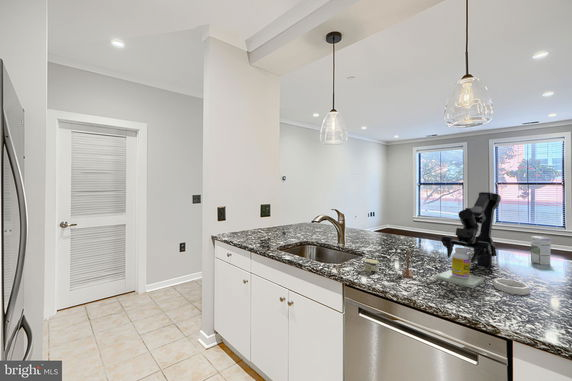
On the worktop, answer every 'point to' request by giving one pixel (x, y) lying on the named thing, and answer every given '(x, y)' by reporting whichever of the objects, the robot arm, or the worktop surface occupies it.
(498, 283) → the white flat octagonal ring
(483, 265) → the robot arm
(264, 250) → the worktop surface
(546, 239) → the syrup box
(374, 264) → the stacked layers on plate
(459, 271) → the supplement bottle
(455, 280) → the sage board
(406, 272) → the gingerbread man figurine
